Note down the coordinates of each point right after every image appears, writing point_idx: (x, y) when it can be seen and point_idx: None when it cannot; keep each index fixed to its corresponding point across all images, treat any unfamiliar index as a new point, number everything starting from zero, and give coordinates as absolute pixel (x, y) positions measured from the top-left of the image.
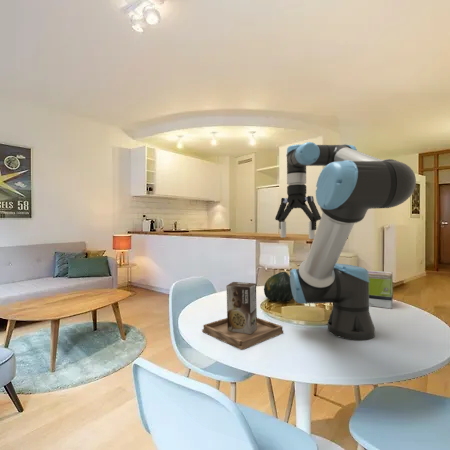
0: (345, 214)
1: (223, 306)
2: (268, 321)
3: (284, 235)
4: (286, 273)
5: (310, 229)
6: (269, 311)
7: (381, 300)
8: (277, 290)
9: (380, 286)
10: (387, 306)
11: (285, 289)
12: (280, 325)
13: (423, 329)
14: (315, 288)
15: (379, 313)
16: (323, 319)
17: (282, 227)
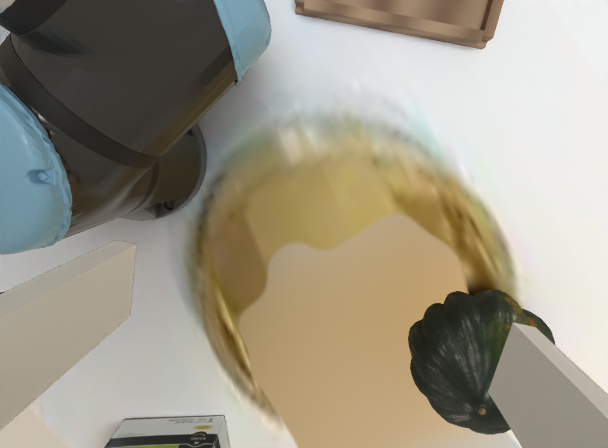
0: None
1: None
2: (359, 18)
3: (508, 378)
4: (471, 404)
5: (34, 278)
6: (435, 186)
7: (138, 434)
8: (465, 301)
9: None
10: (131, 422)
11: (436, 322)
12: (305, 7)
13: (13, 287)
14: None
15: (137, 361)
16: (247, 213)
17: (596, 424)
